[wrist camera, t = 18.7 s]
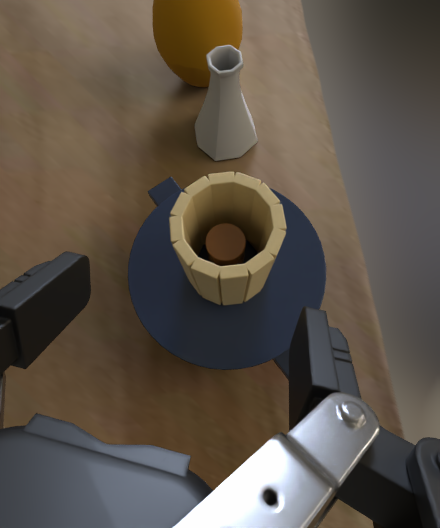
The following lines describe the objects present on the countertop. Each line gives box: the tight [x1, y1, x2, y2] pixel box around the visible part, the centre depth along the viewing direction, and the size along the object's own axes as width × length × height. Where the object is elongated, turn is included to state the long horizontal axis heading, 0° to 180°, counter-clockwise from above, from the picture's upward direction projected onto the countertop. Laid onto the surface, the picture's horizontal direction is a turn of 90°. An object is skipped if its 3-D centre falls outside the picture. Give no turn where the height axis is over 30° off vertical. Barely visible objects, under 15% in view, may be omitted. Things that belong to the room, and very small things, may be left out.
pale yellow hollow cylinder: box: [169, 172, 286, 305], centre depth 21 cm, size 6×6×8 cm
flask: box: [194, 45, 258, 161], centre depth 33 cm, size 7×7×10 cm
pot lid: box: [128, 184, 326, 370], centre depth 22 cm, size 15×15×6 cm
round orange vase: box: [153, 0, 242, 87], centre depth 35 cm, size 10×10×12 cm
